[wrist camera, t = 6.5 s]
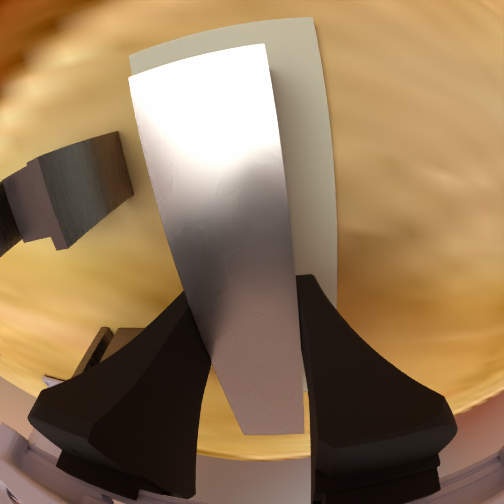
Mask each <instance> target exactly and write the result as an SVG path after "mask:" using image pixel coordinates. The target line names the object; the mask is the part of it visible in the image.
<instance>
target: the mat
mask: <svg viewBox="0 0 504 504" xmlns="http://www.w3.org/2000/svg"><path fill="white" fill-rule="evenodd" d="M257 44H264V45H265V50H266V55H267V61H268V67H269V73H270V78H271V84H272V90H273V97H274V103H275V109H276V116H277V123H278V129H279V136H280V143H281V151H282V158H283V166H284V173H285V181H286V190H287V198H288V207H289V216H290V225H291V234H292V244H293V254H294V265H295V275H306V274H313V275H314V276H315V278H316V280H317V282H318V284H319V285H320V287H321V289H322V290H323V292H324V293H325V295H326V296H327V298H328V299H329V301H330V302H331V303H332V305H333V306H334V307H335V309H336V310H337V213H336V192H335V175H334V162H333V150H332V139H331V130H330V120H329V112H328V104H327V97H326V89H325V83H324V76H323V70H322V64H321V58H320V52H319V47H318V42H317V36H316V31H315V27H314V22H313V17H301V18H286V19H275V20H266V21H258V22H251V23H244V24H238V25H232V26H227V27H222V28H217V29H213V30H208V31H204V32H200V33H196V34H192V35H188V36H185V37H181V38H178V39H174V40H171V41H168V42H165V43H162V44H159V45H156V46H153V47H150V48H147V49H144V50H142V51H139V52H136V53H134V54H131V55H129V59H130V66H131V72H132V76H134V75H137V74H140V73H142V72H145V71H148V70H151V69H154V68H157V67H160V66H163V65H167V64H170V63H173V62H177V61H180V60H184V59H188V58H191V57H195V56H199V55H204V54H208V53H212V52H217V51H222V50H227V49H232V48H238V47H244V46H250V45H257ZM301 361H302V381H303V392H306V391H308V389H307V382H306V376H305V370H304V364H303V358H302V352H301Z"/></svg>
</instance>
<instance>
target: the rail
mask: <svg viewBox="0 0 504 504" xmlns="http://www.w3.org/2000/svg"><path fill="white" fill-rule="evenodd" d="M128 79H129V85H130V91H131V96H132V101H133V106H134V111H135V116H136V121H137V126H138V131H139V135H140V140H141V144H142V148H143V152H144V157H145V161H146V165H147V169H148V173H149V177H150V181H151V184H152V188H153V192H154V196H155V199H156V203H157V206H158V210H159V213H160V217H161V220H162V224H163V227H164V230H165V234H166V237H167V240H168V243H169V247H170V250H171V253H172V256H173V259H174V262H175V265H176V268H177V271H178V274H179V277H180V280H181V283H182V286H183V289H184V292H185V295H186V297H187V300H188V303H189V306H190V308H191V311H192V314H193V317H194V319H195V322H196V325H197V327H198V330H199V332H200V335H201V338H202V340H203V343H204V345H205V348H206V350H207V353H208V355H209V358H210V360H211V363H212V365H213V367H214V370H215V372H216V374H217V377H218V379H219V382H220V384H221V386H222V388H223V391H224V393H225V395H226V397H227V400H228V402H229V404H230V406H231V408H232V411H233V413H234V415H235V417H236V419H237V421H238V423H239V426H240V428H241V430H242V432H243V434H244V435H285V434H302V433H304V405H303V381H302V361H301V343H300V328H299V314H298V300H297V288H296V276H295V265H294V254H293V244H292V234H291V225H290V216H289V207H288V198H287V190H286V181H285V173H284V166H283V158H282V151H281V143H280V136H279V129H278V123H277V116H276V109H275V103H274V97H273V90H272V84H271V78H270V73H269V67H268V61H267V55H266V50H265V45H264V44H257V45H250V46H244V47H238V48H232V49H227V50H222V51H217V52H212V53H208V54H204V55H199V56H195V57H191V58H188V59H184V60H180V61H177V62H173V63H170V64H167V65H163V66H160V67H157V68H154V69H151V70H148V71H145V72H142V73H140V74H137V75H134V76H131V77H129V78H128Z"/></svg>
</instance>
